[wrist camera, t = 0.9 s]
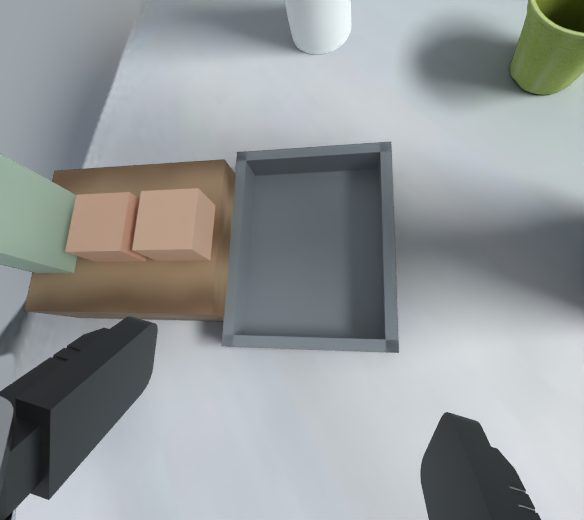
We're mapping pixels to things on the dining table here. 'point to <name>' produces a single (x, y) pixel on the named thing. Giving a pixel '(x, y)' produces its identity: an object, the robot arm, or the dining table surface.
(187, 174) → the bench
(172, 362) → the dining table surface
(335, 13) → the cylindrical container
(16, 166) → the tall sage green panel
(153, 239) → the tile
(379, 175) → the tray
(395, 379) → the dining table surface
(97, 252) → the tile
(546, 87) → the plant pot
